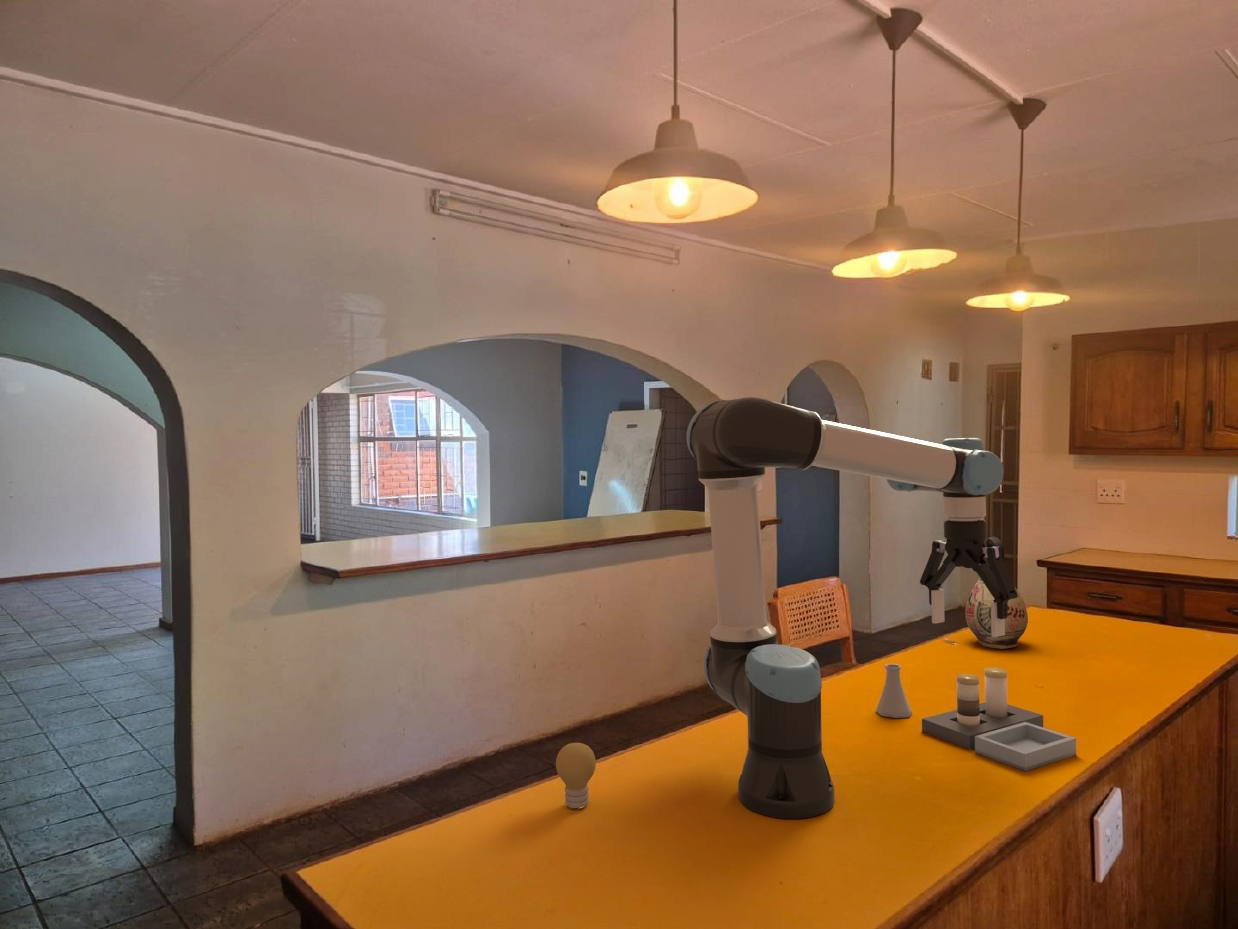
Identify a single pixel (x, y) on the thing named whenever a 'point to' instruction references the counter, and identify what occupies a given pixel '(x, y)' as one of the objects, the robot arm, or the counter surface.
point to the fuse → (996, 692)
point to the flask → (893, 695)
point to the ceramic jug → (981, 613)
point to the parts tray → (1025, 746)
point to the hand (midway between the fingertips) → (967, 629)
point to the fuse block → (965, 735)
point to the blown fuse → (968, 700)
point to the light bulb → (576, 772)
